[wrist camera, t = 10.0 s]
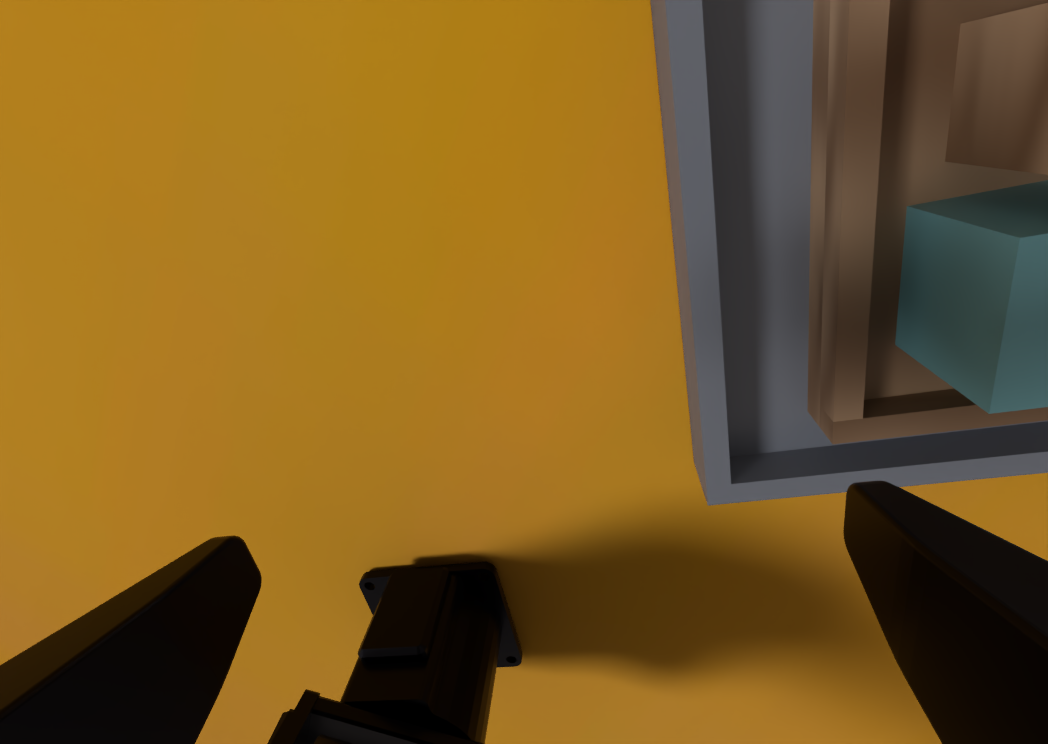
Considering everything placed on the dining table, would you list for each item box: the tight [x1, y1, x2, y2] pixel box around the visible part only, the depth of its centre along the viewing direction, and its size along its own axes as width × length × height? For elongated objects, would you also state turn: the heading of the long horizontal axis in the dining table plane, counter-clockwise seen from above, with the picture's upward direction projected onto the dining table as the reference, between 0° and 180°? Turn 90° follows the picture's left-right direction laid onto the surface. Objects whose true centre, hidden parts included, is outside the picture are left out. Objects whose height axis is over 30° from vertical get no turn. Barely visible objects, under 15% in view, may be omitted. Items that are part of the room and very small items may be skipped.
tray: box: [651, 0, 1048, 505], centre depth 13 cm, size 23×16×2 cm
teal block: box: [895, 180, 1048, 414], centre depth 12 cm, size 4×4×4 cm
